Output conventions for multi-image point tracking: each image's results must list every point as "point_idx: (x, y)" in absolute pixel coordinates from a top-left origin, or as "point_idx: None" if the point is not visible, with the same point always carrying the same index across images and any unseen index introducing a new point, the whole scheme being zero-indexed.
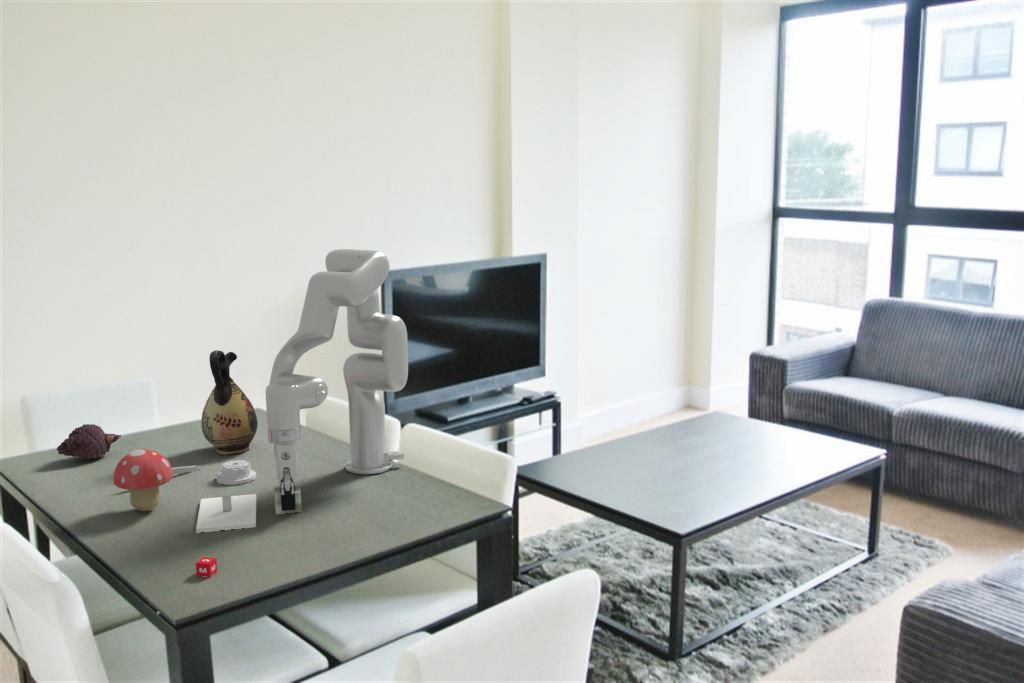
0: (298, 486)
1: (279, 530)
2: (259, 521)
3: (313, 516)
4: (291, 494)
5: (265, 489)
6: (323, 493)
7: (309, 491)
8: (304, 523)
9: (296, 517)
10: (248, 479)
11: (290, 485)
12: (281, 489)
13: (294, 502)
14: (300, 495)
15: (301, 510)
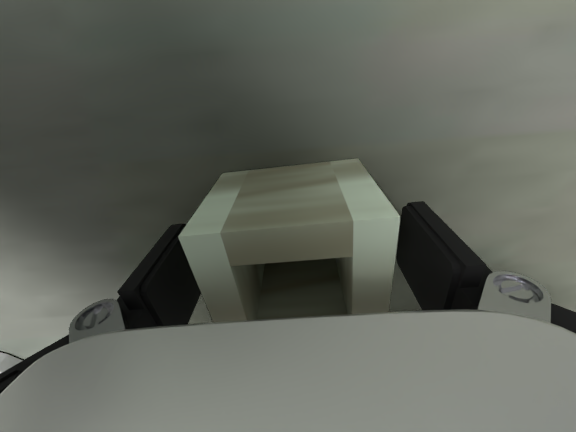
0: (245, 241)
1: (560, 238)
2: (410, 306)
3: (454, 80)
4: (474, 282)
5: (64, 313)
6: (23, 35)
7: (21, 138)
8: (544, 130)
9: (426, 179)
10: (3, 367)
11: (219, 292)
12: (253, 319)
13: (442, 226)
14: (391, 205)
15: (359, 162)
